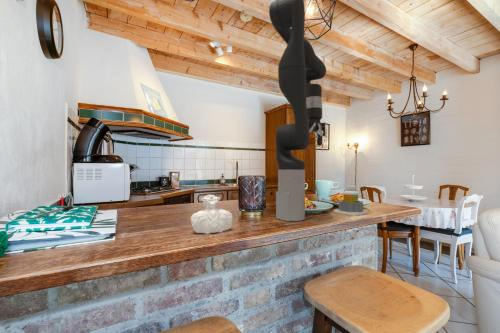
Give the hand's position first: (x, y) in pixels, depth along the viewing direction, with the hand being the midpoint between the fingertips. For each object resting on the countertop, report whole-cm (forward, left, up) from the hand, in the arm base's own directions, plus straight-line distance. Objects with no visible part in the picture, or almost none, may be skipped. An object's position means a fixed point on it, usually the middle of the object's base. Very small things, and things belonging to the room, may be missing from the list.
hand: (313, 144), depth 106 cm
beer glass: (+3, -16, -27) cm, 32 cm away
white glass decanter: (-54, -8, -28) cm, 61 cm away
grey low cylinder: (+3, -16, -28) cm, 32 cm away
